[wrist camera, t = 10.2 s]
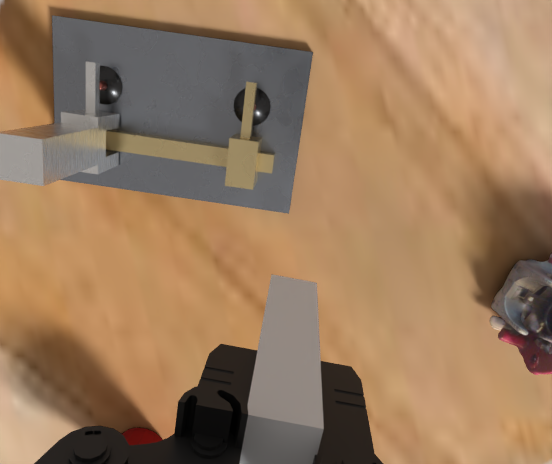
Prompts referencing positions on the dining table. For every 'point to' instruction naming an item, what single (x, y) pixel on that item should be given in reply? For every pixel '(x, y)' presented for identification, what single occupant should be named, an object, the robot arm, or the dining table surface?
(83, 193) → the dining table surface
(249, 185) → the gauge rail
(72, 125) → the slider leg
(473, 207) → the dining table surface
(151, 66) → the bolt plate
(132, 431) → the plastic cup
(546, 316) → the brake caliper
